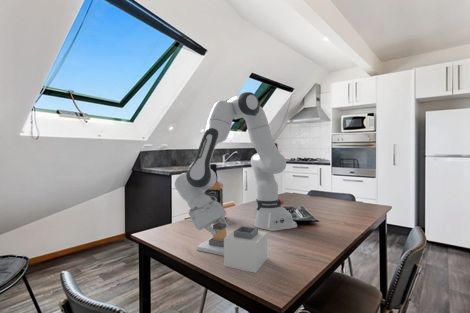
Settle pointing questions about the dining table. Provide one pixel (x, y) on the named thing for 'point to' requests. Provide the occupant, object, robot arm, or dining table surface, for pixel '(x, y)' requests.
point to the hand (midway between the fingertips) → (221, 230)
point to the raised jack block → (245, 249)
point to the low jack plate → (212, 246)
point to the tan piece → (219, 232)
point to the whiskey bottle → (216, 188)
